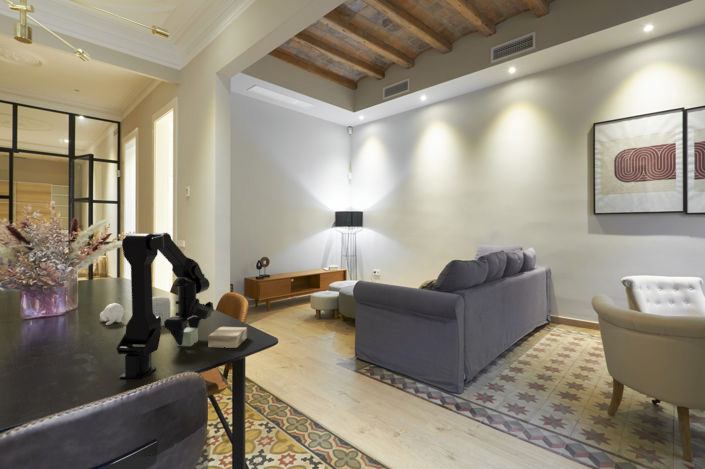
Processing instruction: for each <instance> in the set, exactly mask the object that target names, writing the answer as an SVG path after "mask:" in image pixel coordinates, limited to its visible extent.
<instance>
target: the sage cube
mask: <svg viewBox="0 0 705 469" xmlns="http://www.w3.org/2000/svg"><path fill="white" fill-rule="evenodd" d="M198 341H199V327H198V328H190V327H187V328H186V329H185V330H184V334H183V342H182V345H178V344H177V343H176V346H177V347H192V346H194V345H195V344H196V343H198ZM194 343H195V344H194Z"/></svg>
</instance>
